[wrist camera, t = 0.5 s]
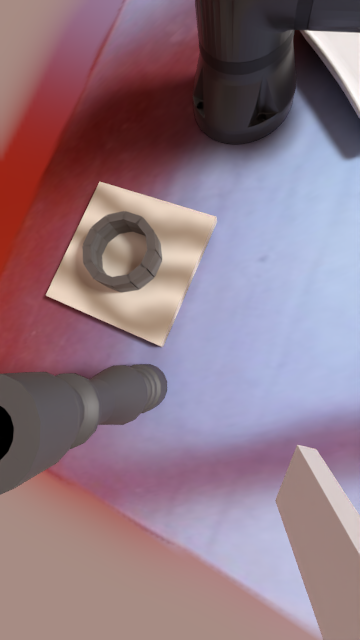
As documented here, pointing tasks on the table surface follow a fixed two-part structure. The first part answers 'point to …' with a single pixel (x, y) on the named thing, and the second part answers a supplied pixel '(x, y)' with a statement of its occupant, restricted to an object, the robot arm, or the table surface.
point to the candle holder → (66, 413)
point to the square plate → (340, 59)
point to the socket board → (132, 261)
